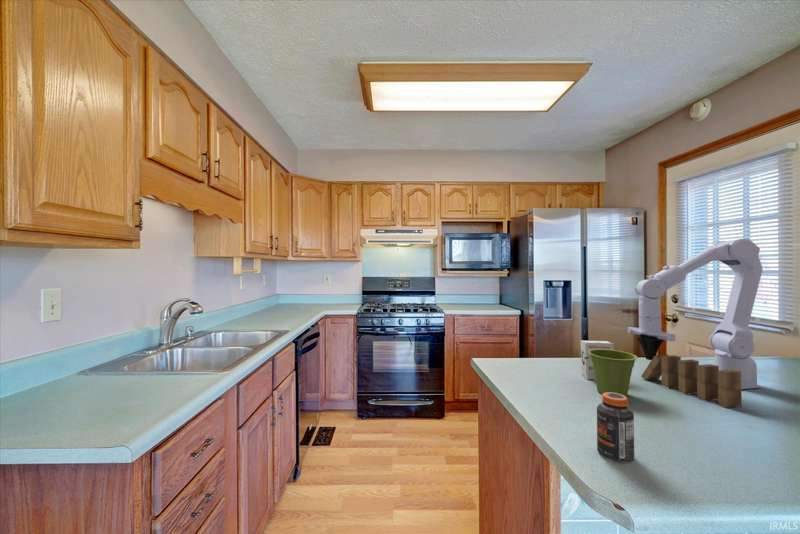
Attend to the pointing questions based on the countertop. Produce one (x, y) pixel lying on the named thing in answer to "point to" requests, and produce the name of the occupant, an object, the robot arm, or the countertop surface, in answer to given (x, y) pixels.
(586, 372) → the ink box
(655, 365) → the domino
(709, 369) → the domino
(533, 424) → the countertop surface
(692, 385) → the domino
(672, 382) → the domino
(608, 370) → the plant pot
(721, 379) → the domino
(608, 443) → the pill bottle
